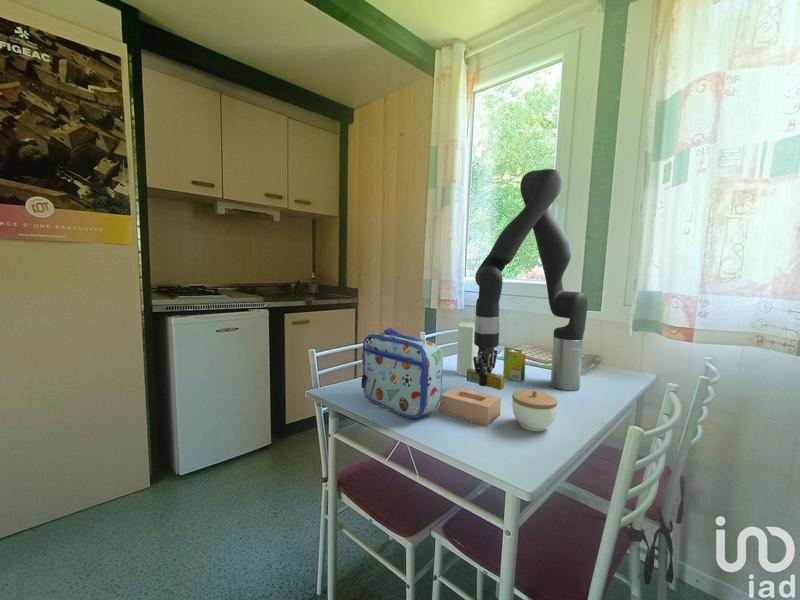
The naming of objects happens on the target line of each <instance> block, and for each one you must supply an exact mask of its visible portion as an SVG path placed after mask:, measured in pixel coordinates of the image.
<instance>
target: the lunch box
mask: <svg viewBox="0 0 800 600" xmlns="http://www.w3.org/2000/svg"><path fill="white" fill-rule="evenodd" d="M443 355H444V354H443V351H442V350H441V348H440V346H439V345H438V344H436V343H434V342H432V341H429V340H425V339H422V338H417V337H415V336H410V335H404V334H402V333H400V332H397V331H396V330H394V329H393V328H392V327H389V328H386V329H384V330H383V332H381V333H376V332H375V333H371V334H368V335H367V336H365V338H364V340H363V344H362V353H361V357H360V358H361V359H362V360H361V361H362V364H363V365H362V375H361V389H363V393H364V395H365V397H366V399H368V400H369V401H370V402H371V403H374V404H376V405H378V406H380V407H383V408H384V409H387V410H388V411H390V412H394V413H396V414H399V415H400V416H401V415H402V416H405V417H407V418H409V419H410V418H411V419H420V417H422V416H424V415H427V414H432V413H435V412H437V411H438V409H440V399H441V394H442V384H443V383H442V380H443V365H444V356H443Z"/></svg>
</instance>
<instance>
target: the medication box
mask: <svg viewBox="0 0 800 600" xmlns="http://www.w3.org/2000/svg"><path fill="white" fill-rule="evenodd" d="M466 382H469V383H473V384H475V385H476V384H477V385H479V374H478V373H476V371H475V369H472V368H470V369H468V370H467V377H466ZM504 385H505V378H504V376H503V375H501V374H496V373H492V372H491V373H488V372H487V385H486V386H485V387H488V388H491V389H494V390H495V389H496V390H500V391H501V390H504V389H505V386H504Z"/></svg>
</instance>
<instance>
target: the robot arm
mask: <svg viewBox="0 0 800 600" xmlns="http://www.w3.org/2000/svg"><path fill="white" fill-rule="evenodd" d="M563 184H564V180H563V175H562V174H561V172H559V171H558V170H557V169H554V168H546V169H545V168H544V169H536V170H531V171H527V172H526V173H525V174H524V175H523V177H522V178H521V181H520V186H519V187H520V188H519V189H520V194H521V198H522V201H523V203H524V207H523V209H522V210H521V211H520V212H519V213H518V214H517V216H516V217H514V218H513V219H512V220H511V221H510V222H509V223H508V224H507V225H506V226H505V228H504V229H503V230H502V232H500V233H499V235H498V237H497V239H496V241H495V243H494V245H493V246H492V248H491V250H490V251H489V253H488V255H487V256H486V257H485V258H484V260H483V261H482V262H481V264H480V265H479V267H478V269H477V271H476V273H475V274H474V275H475V276H474V277H475V278H474V279H475V283H476V285H478V286H479V287H478V298H477V299H476V302H475V303H476V304H475V317H474V318H475V329H474V344H475V345H476V346H478V355H477V357H474V358H473V360H474V365H475V371H476V373H478V374H479V384H478V385H479V386H480V387H487V386H486V385H487V372H488V373H492V372H493V369H495V367H496V362H497V357H498V354H499V353H498V349H497V350H496V349H495V348H497V347H498V346H499V345H500V299H501V295H502V289H503V284H504V283H503V281H504V280H503V274H502V272H503V271H504V269H505V267H507V265H509V264H510V263H511V262H512V261H513V260H514V258H515V256H516V254H517V253H518V252H519V249H521V248H520V247H521V246H522V244H523V243H524V241H525V239H526V237H527V236H528V235H529V233H530V231H531V230H532V231H533V235H534V237H535V243H536V246H537V251H538V255H539V258H540V262H541V266H542V270H543V274H544V279H545V284H546V290H547V297H548V304H549V308H550V311H551V313H552V315H553V316H555V317H557V318H563V319H569V321H568V324H566V325H564V326H558V327H556V328H554V329H553V338H552V354H551V356H552V357H551V371H550V373H551V374H550V385H551V386H552V387H554V388H556V389H558V390H565V391H578V390H580V388H581V387H580V386H581V375H582V361H583V358H582V357H583V343H584V333H585V330H586V323H587V322H586V321H587V314H588V313H587V312H588V297H587V294H585V293H584V292H581V291H569V290H568V291H566V290H564V287H563V280H562V279H563V276H564V275H565V274H564V273H565V271H566V270H567V267H568V266H569V263H570V261H571V257H572V252H571V247H570V242H569V238H568V236H567V233H566V232H565V230H564V229H563V227H562V226H561V224H560V223H559V221H558V220H557V219H556V218H555V216H554V215H553V213H552V210H551V208H550V206H551V205H552V204H553V203H554V202H555V200H556V199H557V198H558V196H559V195H560V193H561V191H562V189H563Z"/></svg>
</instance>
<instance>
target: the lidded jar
mask: <svg viewBox="0 0 800 600" xmlns="http://www.w3.org/2000/svg"><path fill="white" fill-rule="evenodd" d="M511 395H512V396H511V397H512V402H511V403H512V405H511V406H512V411H513V415H514V418H515V419H516V421H517V422H518V423H519V424H520V427H522V428H523V429H525V430H527V431H530V432H544V431H545V430H546V429H547V428H548V427H549V426H551V425H552V423H553V422H554V420H555V417H556V412H557V405H558V399H557V398H556V397H555V396H553V395H551V394H549V393H546V392H543V391H537V390H535V389H534V390H533V389H532V390H530V389H521V390H517V391H514V392H513V393H512V394H511Z"/></svg>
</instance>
